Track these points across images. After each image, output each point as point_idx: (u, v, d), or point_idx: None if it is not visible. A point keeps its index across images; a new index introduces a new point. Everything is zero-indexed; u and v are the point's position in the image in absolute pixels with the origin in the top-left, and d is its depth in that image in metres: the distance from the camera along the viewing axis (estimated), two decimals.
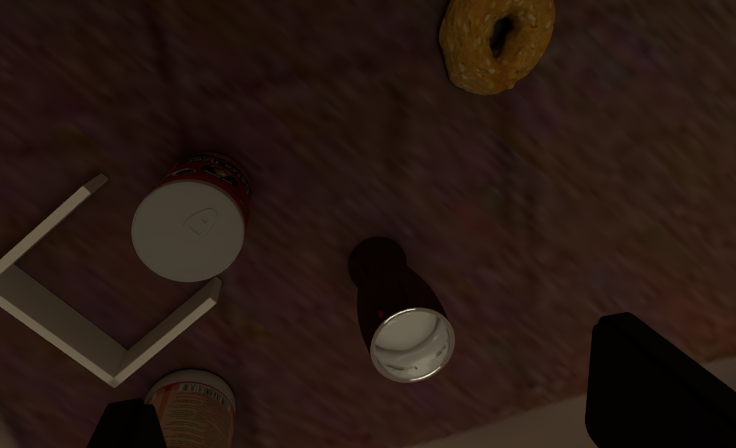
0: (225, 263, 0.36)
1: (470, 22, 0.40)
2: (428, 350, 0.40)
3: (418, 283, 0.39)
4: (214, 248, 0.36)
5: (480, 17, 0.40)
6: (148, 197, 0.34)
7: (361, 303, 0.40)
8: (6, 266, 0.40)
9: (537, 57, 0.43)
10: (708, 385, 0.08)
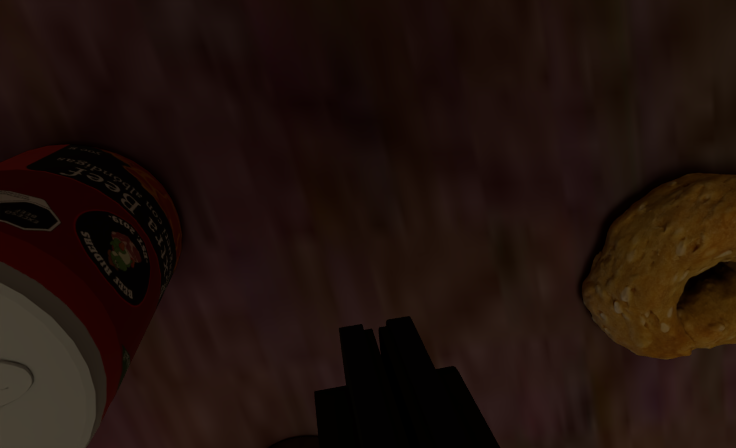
0: None
1: (700, 246, 0.22)
2: None
3: None
4: None
5: (719, 249, 0.21)
6: None
7: None
8: None
9: (729, 343, 0.25)
10: (426, 385, 0.09)
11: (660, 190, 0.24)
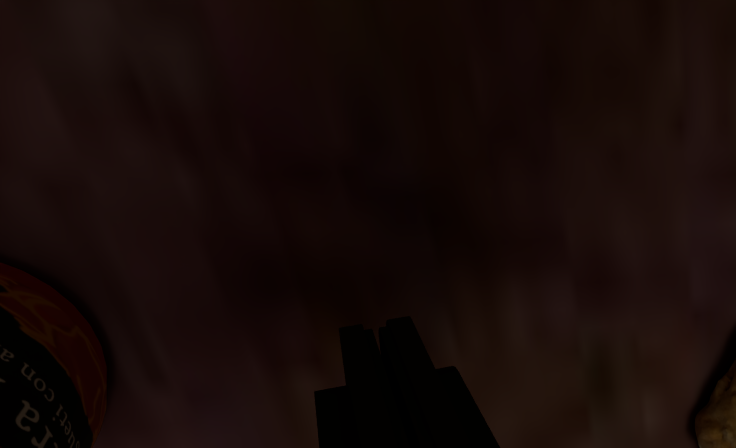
0: None
1: None
2: None
3: None
4: None
5: None
6: None
7: None
8: None
9: None
10: (426, 385, 0.09)
11: None
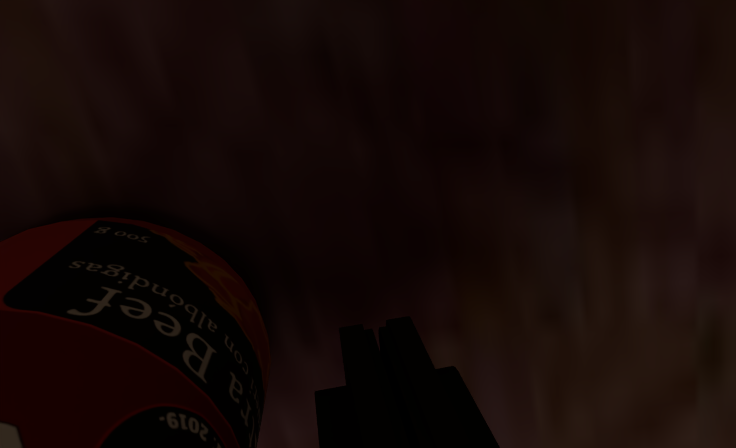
0: None
1: None
2: None
3: None
4: None
5: None
6: None
7: None
8: None
9: None
10: (426, 385, 0.09)
11: None
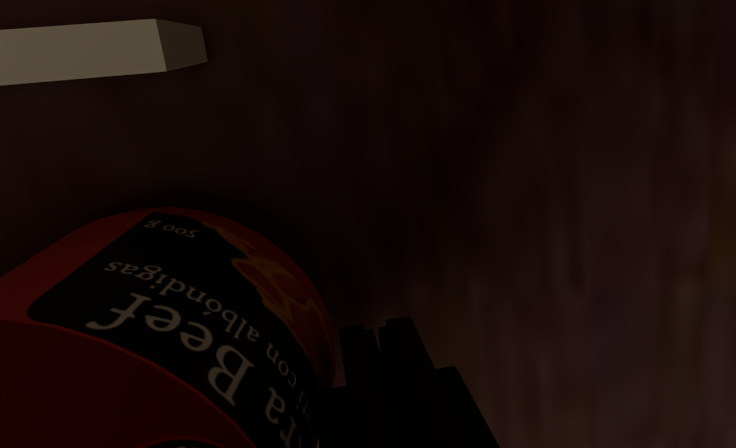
0: None
1: None
2: None
3: None
4: None
5: None
6: None
7: None
8: None
9: None
10: (426, 385, 0.09)
11: None
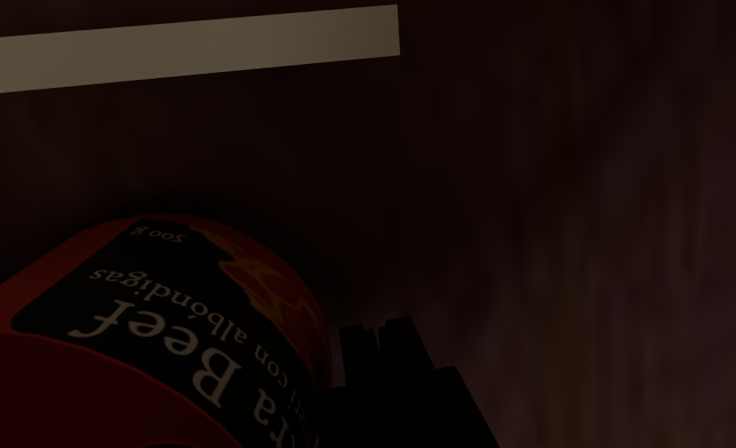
0: None
1: None
2: None
3: None
4: None
5: None
6: None
7: None
8: None
9: None
10: (426, 385, 0.09)
11: None
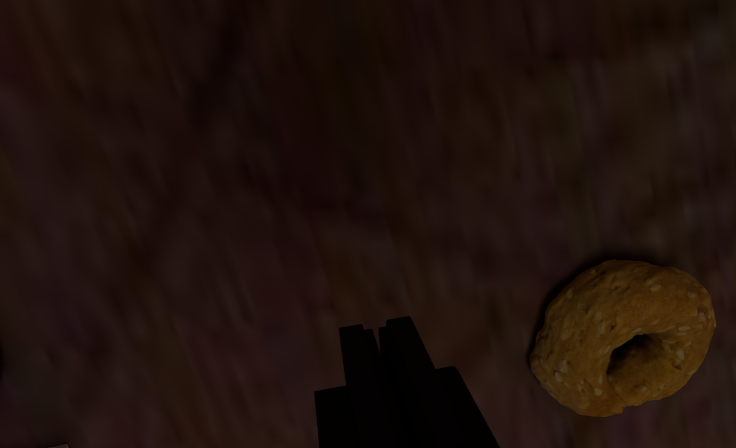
0: None
1: (615, 326, 0.26)
2: None
3: None
4: None
5: (631, 328, 0.26)
6: None
7: None
8: None
9: (654, 399, 0.30)
10: (426, 385, 0.09)
11: (583, 277, 0.29)
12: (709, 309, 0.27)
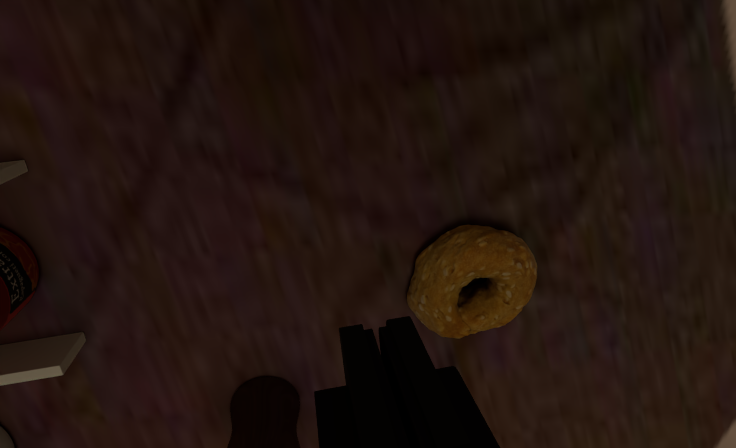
0: None
1: (454, 270, 0.38)
2: None
3: None
4: None
5: (465, 271, 0.38)
6: None
7: None
8: None
9: (494, 326, 0.41)
10: (426, 385, 0.09)
11: (441, 236, 0.40)
12: (526, 261, 0.38)
